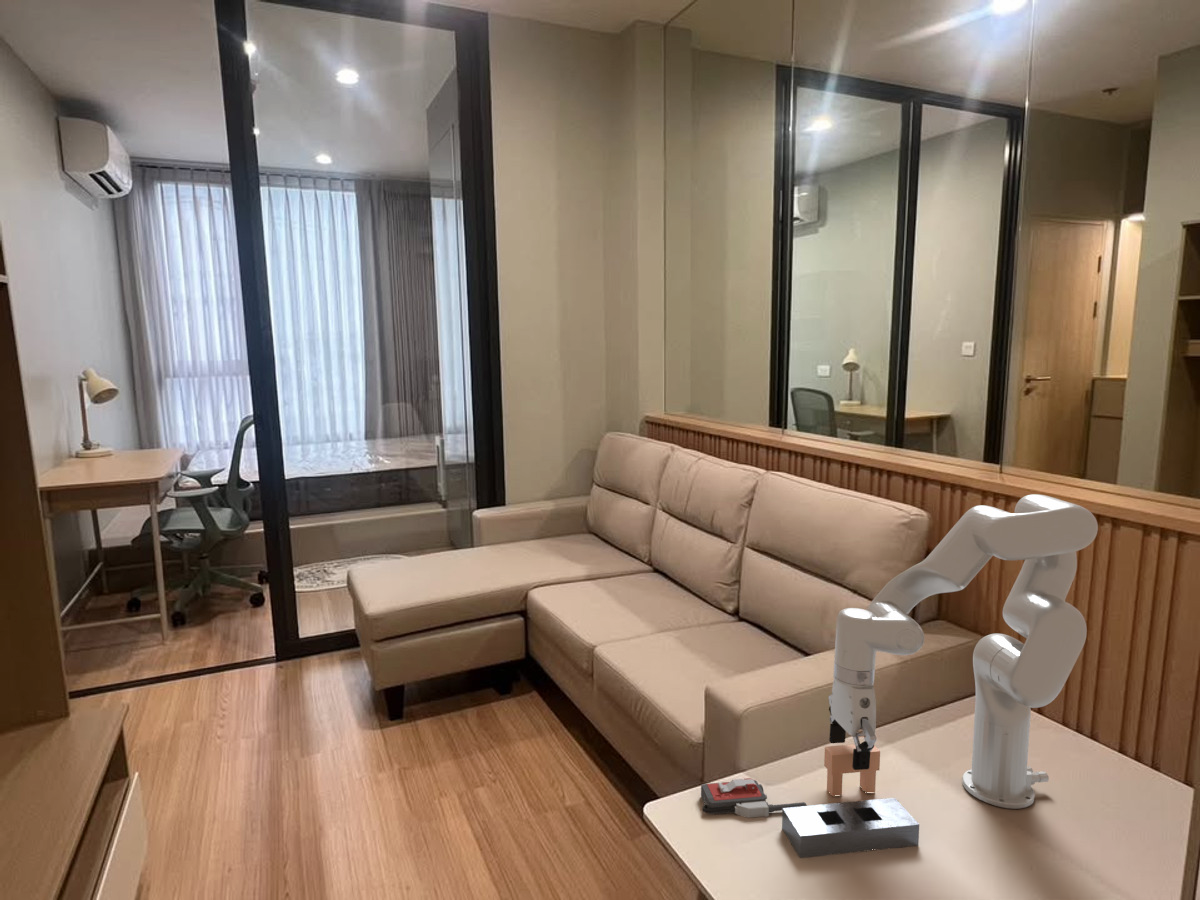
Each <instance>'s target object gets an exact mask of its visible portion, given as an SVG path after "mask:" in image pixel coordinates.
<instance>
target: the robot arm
mask: <svg viewBox="0 0 1200 900" xmlns="http://www.w3.org/2000/svg"><path fill="white" fill-rule="evenodd" d="M1098 529H1099V524H1098V521H1097V518H1096V516H1094V513H1092V512H1091V511H1090V510H1089V509H1087V508H1086V507H1083V506H1082V505H1079V504H1077V503H1073V502H1070V501H1069V502H1068V501H1065V500H1062V499H1060V498H1056V497H1052V496H1049V495H1044V494H1037V493H1035V494H1034V493H1033V494H1028V495H1025V496H1023V497H1021V498H1020V499H1019V500H1018V501H1017V503H1016V505H1015V507H1014V511H1013V512H1012V513H1011V512H1010V511H1006V510H1004V509H1000V508H998V507H997V508H996V507H994V506H991V505H985V504H983V505H980V504H979V505H975V506H973V507H971V508H970V509H968V510H967V511H965V512H964V514H963V515H962V516H961V517H960V519H958V520H957V522H956V523H955V524H954V525H953V527H951V528H950V530H949V531H948V533H946V535H945V536H943V538H942V539H941V540H940V542H939V543H938V544H937V545H936V546H935V547H934V548H933V550H931V552H930V553H929V554H928V555H927V556H926V558H924V559H923V560H922V561H921V562H919V563H917V564H914V565H913V566H911V567H909V568H908V569H906V570H904V571H902V572H900V573H899V574H897V575H896V576H894V577H893V578H892V579H890V580H889V581H888V582H887V583H886V584H885V586H883V587H882V589H881V590H880V591H879V592H878V593H877V594H876V596H874V598H873V599H872V600H871V602H870V603H869V605H868V607H867V609H863V608H860V607H859V608H858V607H847V608H843V609H841V610H839V612H838V613H837V616H836V625H835V627H836V628H835V642H834V643H835V644H834V660H833V676H832V677H833V682H832V689H831V694H830V695H828V704H829V708H828V711H829V714H830V716H829V722H830V727H829V737H828V738H829V739H828V741H829V742H830V744H842V743H843V744H844V743H846V734H848V735H850V736H851V737H852V738H853V743H854V744H855V747H856V749H854V750H853V765H852V767H853V769H854V770H864V769H869V765H870V751H872V748H874V746H875V744H876V742H877V736H876V725H877V723H876V721H877V708H876V706H877V705H876V702H877V701H876V693H875V687H874V684H875V671H876V657H877V652H881V653H886V654H890V655H896V656H909V655H910V656H911V655H914V654H915V653H917V652H918V651H920V650H921V649H922V647H923V646H924V642H925V634H924V630H923V629H922V627H921V626H920V624H919V623H918V622H916V620H915V619H913V618H912V617H911V616H910V615H909V613H910V612H911V611H912V610H913V609H914V607H916V606H917V605H918V604H919V603H920V602H922V601H923V600H925V599H926V598H928V597H930V596H935V595H938V594H944V593H954V592H959V591H963V590H965V588H967V586H968V585H969V584H970V582H971V581H972V580H973V579H974V578H975V577H976V576H977V575H978V573H980V571H981V570H982V569H983V568H984V567H985V565H986V564H987V563H988V562H990V560H991V559H992V557H995V558H997V559H999V560H1000V559H1001V560H1003V561H1023V560H1024V562H1023V564H1022V567H1021V569H1020V571H1019V573H1018V575H1017V577H1016V579H1015V582H1014V583H1013V586H1012V588H1011V590H1010V591H1009V594H1008V596H1007V598H1006V600H1005V602H1004V604H1003V608H1002V618H1003V620H1004V622H1005V624H1006V625H1008V626H1009V628H1011V629H1012V630H1013V631H1015V632H1016V633H1018V634H1019V635H1020V636H1022V637H1024V638H1025V639H1026V640H1025V642H1024V643H1023V642H1022V641H1020V640H1019V639H1017V638H1015V637H1013V636H1011V635H1008V634H1005V633H991V634H988V635H985V636H983V637H982V638H980V639H979V640H978V641H977V643H976V645H975V646H974V650H973V654H972V667H973V674H974V683H975V685H974V686H975V706H974V717H973V739H972V740H973V741H972V755H971V756H972V757H971V759H972V760H971V769H968V770H967V771H965V772H963V774H962V779H961V780H962V782H961V783H962V786H963V787H964V789H965V790H966V791H967V792H968V793H969V794H970V795H971V796H973V797H974V798H976V799H977V800H980V801H982V802H985V803H986V804H990V805H992V806H995V807H999V808H1004V809H1014V810H1015V809H1019V810H1020V809H1025V808H1027V807H1030V806H1032V805H1033V804H1034V802H1035V797H1036V796H1035V791H1034V789H1033V788H1032V785H1035V783H1046V782H1047V783H1048V782H1049V780H1050V779H1049V775H1048V773H1047V772H1046V771H1044V770H1043V771H1034V770H1033V768H1032V766H1029V765H1028V759H1029V745H1030V727H1031V713H1032V709H1033V708H1035V709H1037V708H1042V707H1045V706H1047V705H1049V704H1051V703H1052V702H1053V701H1054V700H1055V699H1056V698H1057V697H1058V695H1059V694H1060V693H1061V692H1062V690H1063V687H1064V686H1065V684H1066V682H1067V680H1068V678H1069V676H1070V674H1071V672H1072V670H1073V669H1074V666H1075V664H1076V662H1077V660H1078V658H1079V656H1080V654H1081V652H1082V650H1083V648H1084V646H1085V643H1086V639H1087V632H1088V630H1087V629H1088V628H1087V622H1086V619H1085V617H1084V616H1083V614H1082V613H1081V612H1080V610H1079V609H1078V608H1076V607H1075V606H1073V604H1071V603H1069V602H1067V601H1066V599H1067V596H1068V594H1069V591H1070V589H1071V586H1072V583H1073V582H1074V579H1075V577H1076V573H1077V569H1078V558H1077V552H1079V551H1081V550H1083V549H1085V548H1087V547H1088V546H1089V545H1091V544H1092V543H1093V542H1094V540H1095V539H1096V537H1097V534H1098ZM1031 708H1032V709H1031ZM860 731H862V732H860ZM860 738H863V739H864V741H862V742H860Z"/></svg>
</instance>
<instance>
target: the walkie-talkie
mask: <svg viewBox="0 0 1200 900" xmlns="http://www.w3.org/2000/svg"><path fill="white" fill-rule="evenodd" d="M764 791H765V790H764V787H763V785H762V784H761V783H758V781H757V780H755V779H753V778H750V777H748V778H737V779H732V780H731V781H723V782H719V781H718V782H714V783H703V784H701V785H700V798H701V799H702V800H701V801H702V803H703V804H704V805H703V806H702V812H703V813H706V814H711V815H720V814H730V813H731V814H732V813H734V814H736V815H737V816H742V817H744V818H747V819H749V818H750V819H751V818H761V817H764V818H766V817H767V818H768V817H769V813H774V812H777V811H782V810H783V808H790V807H800V806H808V805H807V802H804V801H803V802H793V803H781V804H773V803H772V804H769V803H768V801H767V799H768V796H767V793H766V794H765V792H764Z"/></svg>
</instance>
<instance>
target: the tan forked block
mask: <svg viewBox="0 0 1200 900" xmlns="http://www.w3.org/2000/svg"><path fill="white" fill-rule="evenodd" d="M854 749H856V747H855V743H854V744H853V743H852V744H842V745H830V746H824V759H823V761H824V768H825V769H826V770H827V771H826V773H827V775H826V791H827V790H828V791H829V792H830V794H831V795H832V796H835V795H842V796H843V774H853V773H854V774H855V773H859V787H860V786H861V787H862V789H863V790H864V791H865V792H866V793H867V792H875V793H876V780H877V779H876V778H877V777H876V776H877V771H880V770H881V769H880V766H881V765H880V764H881V763H880V762H881V761H880V760H881V751H880V749H879V748H877V746H876V745H874V748H872V751H870V765H869V769H864V770H854V769H853V767H852V765H853V750H854ZM862 789H861V790H862ZM863 790H862V791H863ZM828 791H827V792H828ZM829 792H828V793H829ZM830 794H829V795H830ZM831 795H830V796H831ZM832 796H831V797H832Z"/></svg>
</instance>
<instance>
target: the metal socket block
mask: <svg viewBox="0 0 1200 900" xmlns="http://www.w3.org/2000/svg"><path fill="white" fill-rule="evenodd" d="M781 811H782V815H781V816H782V817H781V820H782V821H781V829H782V831H783V832H784V833H783V834H785V836H786V837H787V839H788V841H789V842H790V844H791V846H792V847H793V848H794V850H795V852H796V853H797V855H798V857H799V858H800V859H802V858H811V857H820V856H829V855H831V854H832V855H839V854H838V853H841V854H850V852H851V853H858V852H857V851H861V852H868V851H867V850H870V851H877V849H880V850H888V848H890V849H898V848H908V847H909V848H910V847H915V846H916V847H917V846H919V844H920V843H919V842H920V840H919V839H920V823H919V822H918V821H917V820H916V819H915V818H914V817H913V816H912V814H910V813H909V811H908V810H907V809H906V808H905V807H904V806H903V805H902V804H901V803H900V802H899V800H897V798H896V797H888V798H887V797H886V798H876V799H865V800H855V801H846V802H845V801H844V802H835V803H834V802H832V803H823V804H814V805H807V806H800V807H790V808H783V810H781ZM872 849H873V850H872ZM874 849H876V850H874ZM864 850H866V851H864ZM832 855H831V856H832Z"/></svg>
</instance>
